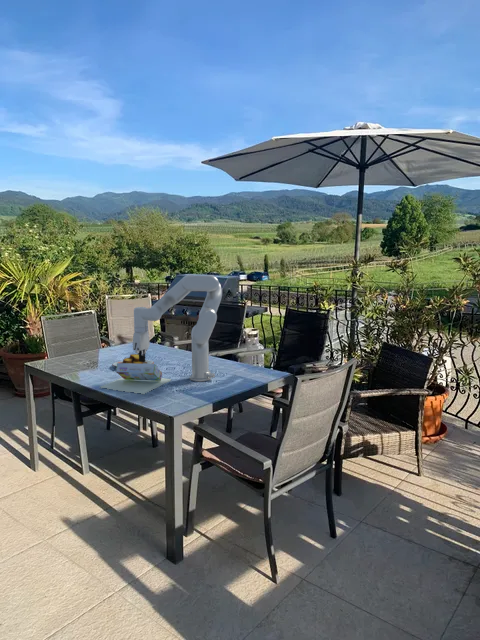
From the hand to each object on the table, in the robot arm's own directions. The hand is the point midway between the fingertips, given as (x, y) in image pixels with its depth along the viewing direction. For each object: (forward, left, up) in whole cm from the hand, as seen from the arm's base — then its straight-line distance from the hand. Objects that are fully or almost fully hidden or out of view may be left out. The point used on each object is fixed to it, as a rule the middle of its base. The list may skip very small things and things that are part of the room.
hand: (142, 361), depth 238 cm
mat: (0, +6, -11) cm, 13 cm away
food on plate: (+24, -25, -12) cm, 36 cm away
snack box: (0, 0, -9) cm, 9 cm away
